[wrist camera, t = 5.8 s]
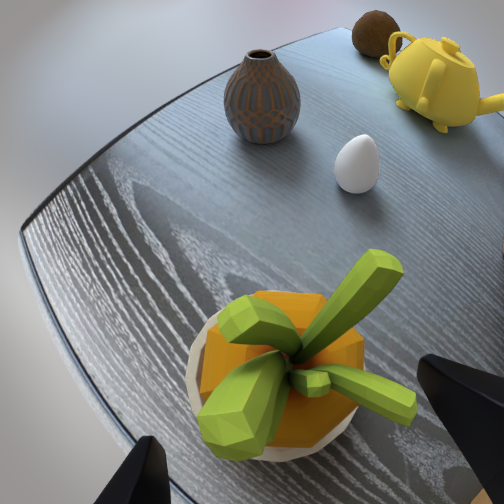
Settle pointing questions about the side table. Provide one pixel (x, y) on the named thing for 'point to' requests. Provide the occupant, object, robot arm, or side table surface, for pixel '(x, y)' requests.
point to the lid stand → (481, 498)
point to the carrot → (296, 365)
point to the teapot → (437, 82)
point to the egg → (358, 165)
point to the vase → (262, 98)
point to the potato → (375, 34)
